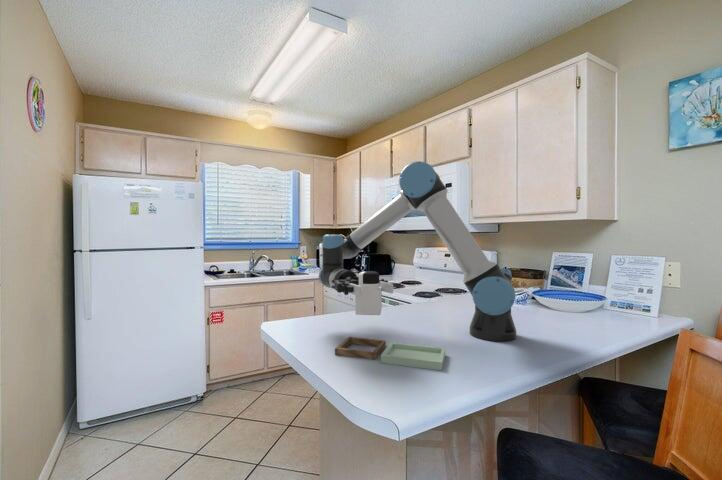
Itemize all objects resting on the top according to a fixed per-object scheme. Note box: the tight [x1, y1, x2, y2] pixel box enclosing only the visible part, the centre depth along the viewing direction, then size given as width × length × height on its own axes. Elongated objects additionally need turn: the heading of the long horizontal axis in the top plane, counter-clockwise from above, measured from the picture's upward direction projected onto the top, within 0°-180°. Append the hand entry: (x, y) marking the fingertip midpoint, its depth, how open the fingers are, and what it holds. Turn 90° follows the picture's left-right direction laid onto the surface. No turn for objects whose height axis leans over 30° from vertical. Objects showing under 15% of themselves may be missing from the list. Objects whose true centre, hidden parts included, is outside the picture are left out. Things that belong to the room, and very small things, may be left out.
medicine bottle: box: [355, 270, 383, 316], centre depth 102 cm, size 7×7×12 cm
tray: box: [380, 341, 447, 371], centre depth 96 cm, size 16×12×2 cm
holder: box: [334, 336, 387, 360], centre depth 103 cm, size 12×12×2 cm
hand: (376, 289), depth 98 cm, fingers closed on medicine bottle, 10 cm apart
